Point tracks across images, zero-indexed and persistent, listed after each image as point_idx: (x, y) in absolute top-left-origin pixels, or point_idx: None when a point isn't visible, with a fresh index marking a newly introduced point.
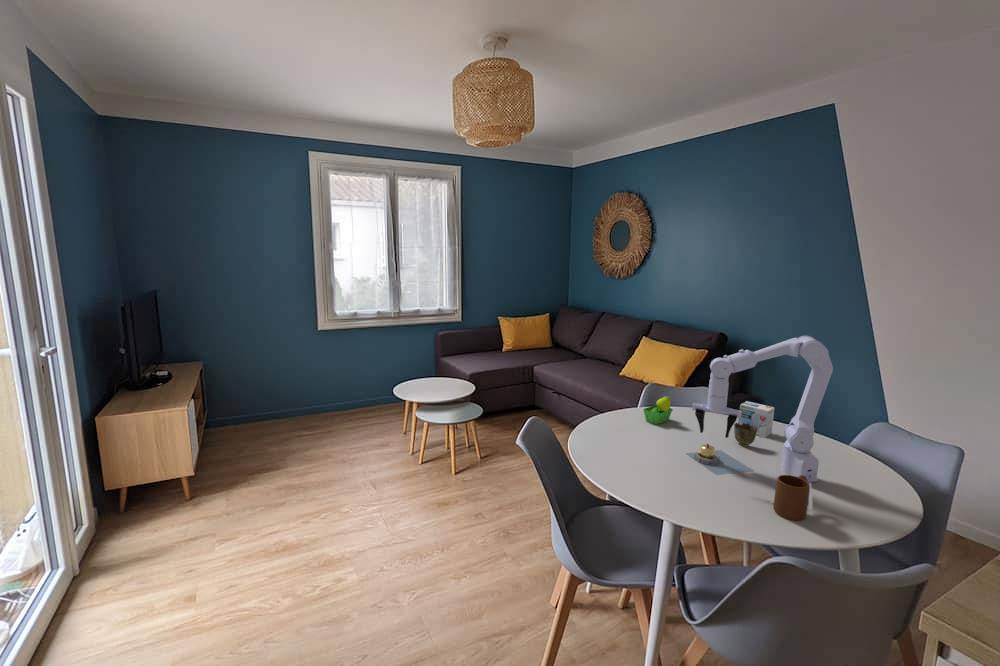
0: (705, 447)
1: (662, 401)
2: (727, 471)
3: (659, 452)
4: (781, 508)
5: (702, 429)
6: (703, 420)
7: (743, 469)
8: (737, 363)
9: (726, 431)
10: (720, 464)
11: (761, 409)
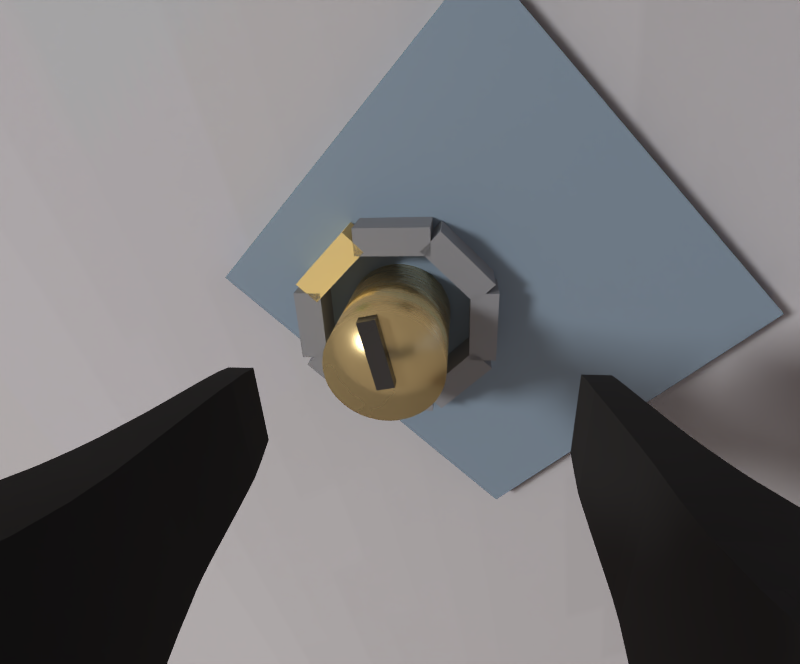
0: (366, 387)
1: None
2: (564, 426)
3: (75, 305)
4: None
5: (248, 487)
6: (150, 510)
7: (688, 335)
8: None
9: (601, 555)
10: (509, 338)
11: None
